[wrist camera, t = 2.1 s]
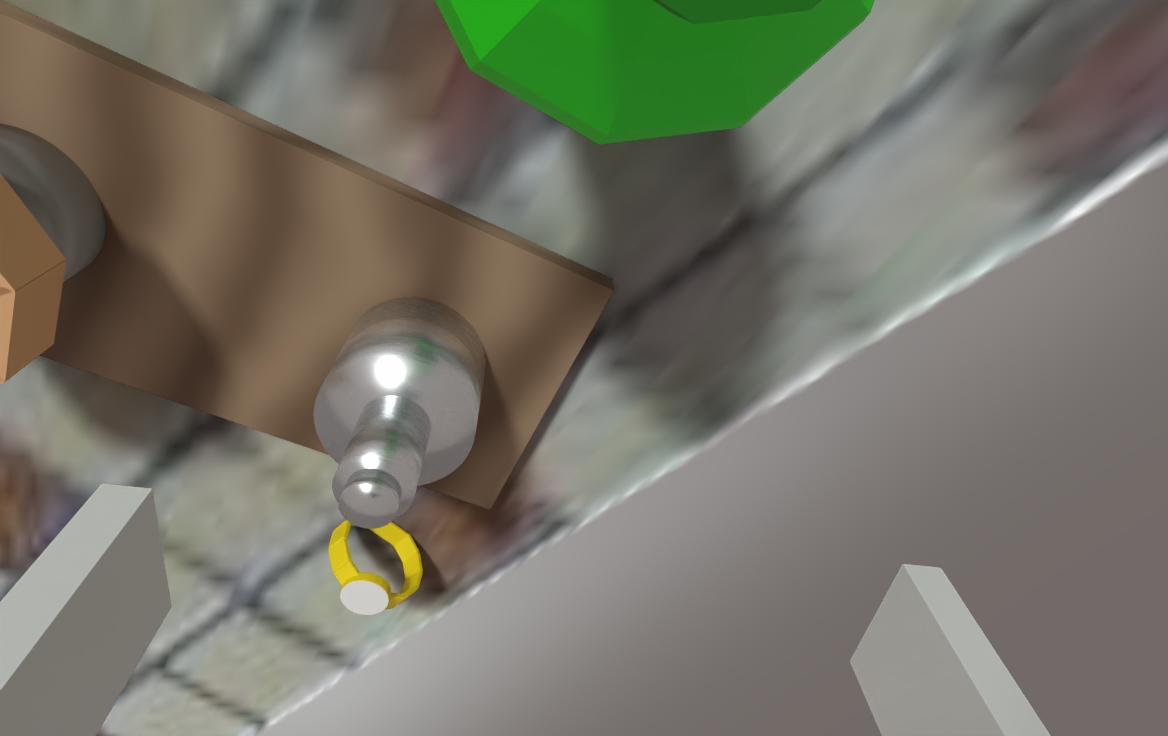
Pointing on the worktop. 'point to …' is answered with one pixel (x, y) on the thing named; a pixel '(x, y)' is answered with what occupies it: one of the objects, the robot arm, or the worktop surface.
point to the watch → (370, 589)
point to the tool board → (259, 252)
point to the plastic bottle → (647, 57)
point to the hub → (399, 406)
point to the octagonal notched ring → (26, 285)
